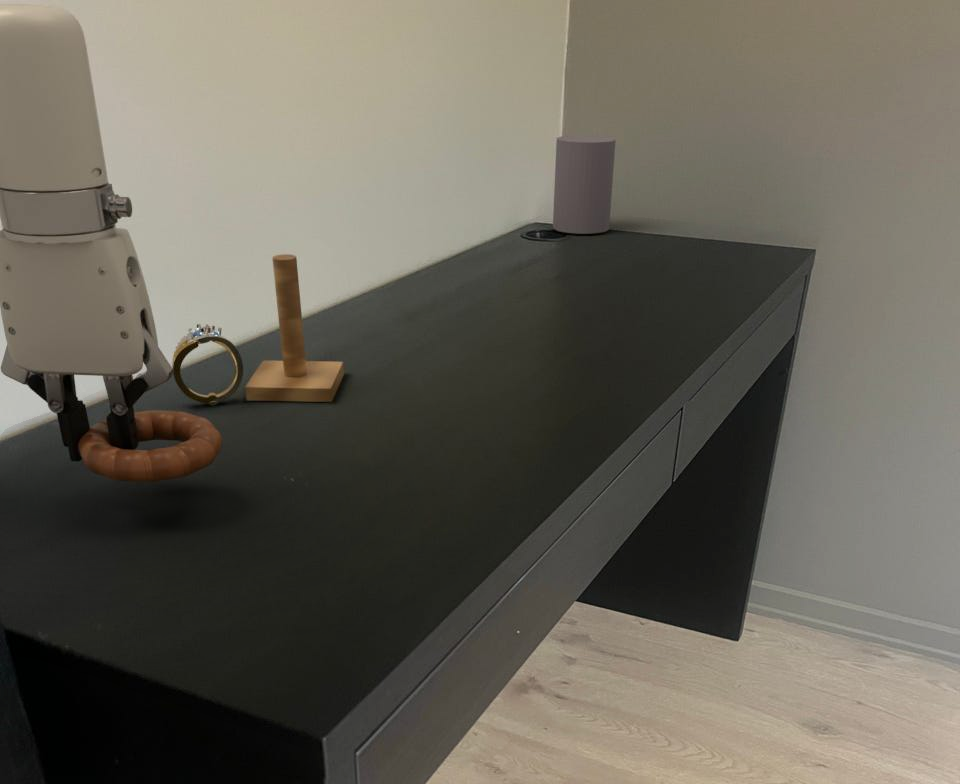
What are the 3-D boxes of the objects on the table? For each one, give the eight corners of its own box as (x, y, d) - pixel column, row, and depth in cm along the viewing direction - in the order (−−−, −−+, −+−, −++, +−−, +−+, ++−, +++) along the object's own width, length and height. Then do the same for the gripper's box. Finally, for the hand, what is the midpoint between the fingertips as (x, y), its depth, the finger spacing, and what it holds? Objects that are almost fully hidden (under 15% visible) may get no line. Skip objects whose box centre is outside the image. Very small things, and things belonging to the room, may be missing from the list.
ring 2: (245, 395, 105) (236, 319, 100) (249, 405, 102) (239, 327, 98) (178, 402, 103) (165, 324, 98) (179, 412, 100) (166, 333, 96)
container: (619, 229, 182) (626, 138, 174) (590, 238, 175) (596, 144, 167) (571, 222, 187) (576, 133, 179) (541, 230, 180) (545, 139, 172)
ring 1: (61, 483, 75) (55, 454, 74) (109, 431, 84) (104, 404, 83) (202, 489, 75) (198, 460, 74) (235, 436, 84) (232, 409, 83)
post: (246, 400, 103) (229, 266, 96) (264, 373, 111) (249, 246, 103) (331, 402, 103) (321, 267, 96) (344, 374, 111) (335, 247, 103)
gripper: (186, 206, 73) (215, 442, 83) (-33, 198, 73) (22, 434, 83) (156, 226, 66) (191, 479, 77) (-85, 217, 67) (-18, 471, 77)
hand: (103, 453), depth 80 cm, fingers closed on ring 1, 2 cm apart
